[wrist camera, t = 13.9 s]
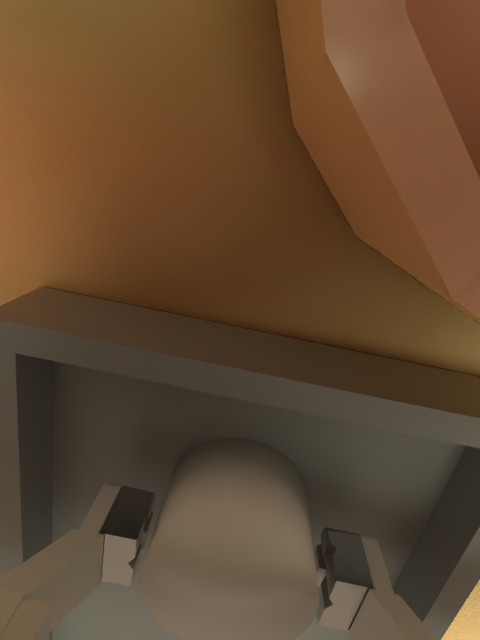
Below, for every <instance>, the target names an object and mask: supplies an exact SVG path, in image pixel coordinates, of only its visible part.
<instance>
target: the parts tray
mask: <svg viewBox="0 0 480 640" xmlns="http://www.w3.org/2000/svg"><path fill="white" fill-rule="evenodd" d="M224 438H243V439H249V440H254V441H258V442H261V443H264V444H267V445H269V446H271V447H273V448H275V449H277V450H279V451H280V452H282V453H283V454H284V455H286V456H287V457H288V458H289V459H290V460H291V461H292V462H293V463H294V464H295V465H296V466H297V468H298V469H299V471H300V472H301V474H302V476H303V479H304V481H305V485H306V490H307V498H308V506H309V514H310V522H311V531H312V539H313V547H314V552H315V549H316V546H318V545H319V544H321V537H320V535H321V533H322V530H323V529H324V528H325V527H327V528H332V529H338V530H343V531H348V532H353V533H357V534H362V535H367V536H372V537H375V538H376V539H377V540H378V543H379V546H380V550H381V553H382V556H383V559H384V563H385V566H386V569H387V572H388V576H389V579H390V582H391V585H392V588H393V592H394V594H397V595H400V596H401V598H402V599H403V600H404V601H405V602H406V604H407V605H408V606H409V607H410V608H411V610H412V611H413V612H414V613H415V614H416V616H417V617H418V618H419V619H420V620H421V622H422V623H423V624H424V625H425V626H426V628H427V629H428V630H429V631H430V632H431V634H432V635H433V636H434V637H435V638H436V640H441V638H442V637H443V635H444V634H445V632H446V631H447V629H448V627H449V626H450V624H451V623H452V621H453V620H454V618H455V617H456V615H457V613H458V612H459V610H460V609H461V607H462V606H463V604H464V603H465V601H466V599H467V598H468V596H469V595H470V593H471V592H472V590H473V589H474V587H475V585H476V584H477V582H478V581H479V579H480V377H479V376H474V375H469V374H465V373H460V372H455V371H450V370H445V369H440V368H435V367H431V366H426V365H421V364H416V363H411V362H406V361H401V360H397V359H392V358H387V357H382V356H377V355H372V354H367V353H362V352H358V351H353V350H348V349H343V348H338V347H333V346H328V345H324V344H319V343H314V342H309V341H304V340H299V339H294V338H289V337H285V336H280V335H275V334H270V333H265V332H260V331H255V330H251V329H246V328H241V327H236V326H231V325H226V324H221V323H217V322H212V321H207V320H202V319H197V318H192V317H187V316H182V315H178V314H173V313H168V312H163V311H158V310H153V309H148V308H144V307H139V306H134V305H129V304H124V303H119V302H114V301H109V300H105V299H100V298H95V297H90V296H85V295H80V294H75V293H71V292H66V291H61V290H56V289H51V288H46V287H40V288H38V289H36V290H34V291H32V292H29V293H27V294H25V295H23V296H21V297H19V298H17V299H15V300H13V301H11V302H8V303H6V304H4V305H2V306H0V578H1V577H2V576H4V575H5V574H7V573H8V572H10V571H11V570H13V569H14V568H16V567H17V566H19V565H20V564H22V563H23V562H25V561H26V560H28V559H29V558H31V557H32V556H34V555H35V554H37V553H38V552H40V551H41V550H43V549H44V548H46V547H47V546H49V545H50V544H52V543H53V542H55V541H56V540H58V539H59V538H61V537H62V536H64V535H65V534H67V533H68V532H70V531H71V530H73V529H80V527H81V525H82V523H83V521H84V519H85V518H86V516H87V514H88V512H89V510H90V508H91V506H92V505H93V503H94V501H95V499H96V497H97V495H98V494H99V492H100V490H101V488H102V486H103V485H104V484H105V483H106V482H109V483H113V484H118V485H122V486H127V487H132V488H136V489H140V490H145V491H149V492H153V493H155V502H154V505H153V508H152V512H153V516H152V521H151V526H150V530H149V534H148V537H147V541H146V544H145V547H144V548H143V549H142V550H141V553H140V560H139V565H138V567H137V570H136V573H135V576H134V579H133V582H132V585H131V586H126V585H120V584H114V583H109V582H103V581H100V584H99V585H98V586H97V587H96V588H95V589H94V590H93V591H92V592H91V593H90V594H89V595H88V596H87V597H86V598H85V599H83V600H82V601H81V602H80V603H79V604H78V605H77V606H76V607H75V608H74V609H73V610H72V611H71V612H70V613H69V614H68V615H67V616H66V617H65V618H64V619H63V620H62V621H61V622H60V623H59V624H58V625H56V626H55V627H54V628H53V629H52V630H51V631H50V632H49V640H183V639H181V638H179V637H178V636H176V635H174V634H172V633H171V632H169V631H168V630H166V629H165V628H164V627H163V626H161V625H160V624H159V623H158V622H157V621H156V620H155V619H154V618H153V617H152V616H151V614H150V613H149V612H148V610H147V609H146V607H145V605H144V603H143V601H142V598H141V595H140V590H139V576H140V572H141V569H142V566H143V562H144V559H145V556H146V553H147V550H148V547H149V544H150V541H151V538H152V535H153V532H154V529H155V525H156V522H157V519H158V516H159V513H160V510H161V507H162V504H163V501H164V498H165V495H166V492H167V488H168V485H169V482H170V479H171V476H172V473H173V471H174V469H175V467H176V465H177V464H178V462H179V461H180V460H181V459H182V457H183V456H184V455H186V454H187V453H188V452H189V451H190V450H192V449H194V448H195V447H197V446H199V445H201V444H204V443H206V442H210V441H213V440H218V439H224ZM292 640H351V638H350V636H349V634H348V631H343V630H339V629H335V628H331V627H327V626H322V625H318V620H317V614H316V616H315V618H314V620H313V621H312V623H311V624H310V625H309V626H308V628H307V629H306V630H305V631H303V632H302V633H301V634H300V635H298V636H297V637H296V638H294V639H292Z"/></svg>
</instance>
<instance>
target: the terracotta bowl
mask: <svg viewBox="0 0 480 640" xmlns="http://www.w3.org/2000/svg"><path fill="white" fill-rule="evenodd" d="M276 6H277V14H278V21H279V28H280V35H281V42H282V49H283V57H284V64H285V71H286V78H287V85H288V93H289V100H290V107H291V114H292V121H293V125H294V127H295V129H296V131H297V132H298V134H299V136H300V138H301V140H302V141H303V143H304V145H305V147H306V148H307V150H308V152H309V154H310V155H311V157H312V159H313V161H314V163H315V164H316V166H317V168H318V170H319V171H320V173H321V175H322V177H323V178H324V180H325V182H326V184H327V185H328V187H329V189H330V191H331V193H332V194H333V196H334V198H335V200H336V201H337V203H338V205H339V207H340V208H341V210H342V212H343V214H344V216H345V217H346V219H347V221H348V223H349V224H350V226H351V228H352V230H353V231H354V233H355V235H356V236H357V237H358V238H360V239H361V240H362V241H364V242H365V243H367V244H368V245H369V246H371V247H372V248H373V249H375V250H376V251H378V252H379V253H380V254H382V255H383V256H385V257H386V258H387V259H389V260H390V261H392V262H393V263H394V264H396V265H397V266H399V267H400V268H401V269H403V270H404V271H405V272H407V273H408V274H410V275H411V276H412V277H414V278H415V279H417V280H418V281H419V282H421V283H422V284H424V285H425V286H426V287H428V288H429V289H431V290H432V291H433V292H435V293H436V294H437V295H439V296H440V297H442V298H443V299H444V300H446V301H447V302H448V303H450V304H451V305H453V306H454V307H456V308H457V309H459V310H460V311H462V312H463V313H464V314H466V315H467V316H469V317H470V318H472V319H473V320H475V321H476V322H477V323H479V324H480V0H276Z"/></svg>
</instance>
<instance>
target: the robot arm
mask: <svg viewBox="0 0 480 640" xmlns="http://www.w3.org/2000/svg"><path fill="white" fill-rule="evenodd" d="M154 502H155V493H153V492H149V491H145V490H140V489H136V488H132V487H127V486H122V485H118V484H113V483H109V482H106V483H105V484H104V485H103V486H102V488H101V490H100V492H99V494H98V495H97V497H96V499H95V501H94V503H93V505H92V506H91V508H90V510H89V512H88V514H87V516H86V518H85V519H84V521H83V523H82V525H81V527H80V529H73V530H71V531H70V532H68V533H67V534H65V535H64V536H62V537H61V538H59V539H58V540H56V541H55V542H53V543H52V544H50V545H49V546H47V547H46V548H44V549H43V550H41V551H40V552H38V553H37V554H35V555H34V556H32V557H31V558H29V559H28V560H26V561H25V562H23V563H22V564H20V565H19V566H17V567H16V568H14V569H13V570H11V571H10V572H8V573H7V574H5V575H4V576H2V577H1V578H0V640H49V632H50V631H51V630H52V629H53V628H54V627H55V626H56V625H58V624H59V623H60V622H61V621H62V620H63V619H64V618H65V617H66V616H67V615H68V614H69V613H70V612H71V611H72V610H73V609H74V608H75V607H76V606H77V605H78V604H79V603H80V602H81V601H82V600H83V599H85V598H86V597H87V596H88V595H89V594H90V593H91V592H92V591H93V590H94V589H95V588H96V587H97V586H98V585H99V584H100V581H103V582H109V583H114V584H120V585H126V586H131V585H132V582H133V579H134V576H135V573H136V570H137V567H138V565H139V560H140V553H141V550H142V549H143V548H144V547H145V544H146V541H147V537H148V534H149V530H150V526H151V521H152V516H153V512H152V508H153V505H154ZM320 537H321V544H319V545H318V546H316V549H315V552H314V555H315V563H316V571H317V579H318V587H319V597H320V600H319V607H318V611H317V620H318V625H322V626H327V627H331V628H335V629H339V630H343V631H348V634H349V636H350V638H351V640H436V638H435V637H434V636H433V635H432V634H431V632H430V631H429V630H428V629H427V628H426V626H425V625H424V624H423V623H422V622H421V620H420V619H419V618H418V617H417V616H416V614H415V613H414V612H413V611H412V610H411V608H410V607H409V606H408V605H407V604H406V602H405V601H404V600H403V599H402V598H401V596H400V595H397V594H394V592H393V588H392V585H391V582H390V579H389V576H388V572H387V569H386V566H385V563H384V559H383V556H382V553H381V550H380V546H379V543H378V540H377V539H376V538H375V537H372V536H367V535H362V534H357V533H353V532H348V531H343V530H338V529H332V528H327V527H325V528H324V529H323V530H322V533H321V535H320Z"/></svg>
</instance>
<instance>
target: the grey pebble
mask: <svg viewBox="0 0 480 640" xmlns="http://www.w3.org/2000/svg"><path fill="white" fill-rule="evenodd" d="M139 590H140V595H141V598H142V601H143V603H144V605H145V607H146V609H147V610H148V612H149V613H150V614H151V616H152V617H153V618H154V619H155V620H156V621H157V622H158V623H159V624H160V625H161V626H163V627H164V628H165V629H166V630H168V631H169V632H171V633H172V634H174V635H176V636H178V637H179V638H181V639H183V640H292V639H294V638H296V637H297V636H298V635H300V634H301V633H302V632H303V631H305V630H306V629H307V628H308V626H309V625H310V624H311V623H312V621H313V620H314V618H315V616H316V614H317V611H318V607H319V600H320V597H319V587H318V579H317V571H316V563H315V555H314V547H313V539H312V531H311V522H310V514H309V506H308V498H307V490H306V485H305V481H304V479H303V476H302V474H301V472H300V471H299V469H298V468H297V466H296V465H295V464H294V463H293V462H292V461H291V460H290V459H289V458H288V457H287V456H286V455H284V454H283V453H282V452H280V451H279V450H277V449H275V448H273V447H271V446H269V445H267V444H264V443H261V442H258V441H254V440H249V439H243V438H224V439H218V440H213V441H210V442H206V443H204V444H201V445H199V446H197V447H195V448H194V449H192V450H190V451H189V452H188V453H187V454H186V455H184V456H183V457H182V459H181V460H180V461H179V462H178V464H177V465H176V467H175V469H174V471H173V473H172V476H171V479H170V482H169V485H168V488H167V492H166V495H165V498H164V501H163V504H162V507H161V510H160V513H159V516H158V519H157V522H156V525H155V529H154V532H153V535H152V538H151V541H150V544H149V547H148V550H147V553H146V556H145V559H144V562H143V566H142V569H141V572H140V576H139Z"/></svg>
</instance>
